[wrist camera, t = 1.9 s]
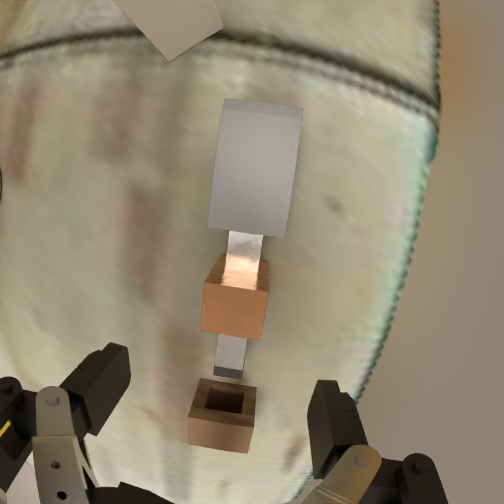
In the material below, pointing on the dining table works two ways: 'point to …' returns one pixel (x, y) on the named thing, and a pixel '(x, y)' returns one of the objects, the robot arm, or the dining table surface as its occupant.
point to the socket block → (222, 416)
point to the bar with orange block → (236, 301)
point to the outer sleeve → (254, 167)
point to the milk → (173, 22)
